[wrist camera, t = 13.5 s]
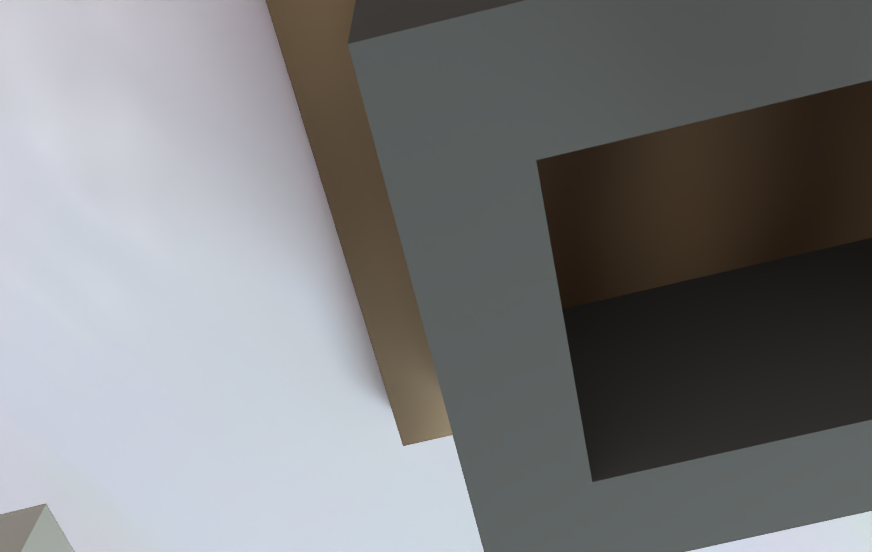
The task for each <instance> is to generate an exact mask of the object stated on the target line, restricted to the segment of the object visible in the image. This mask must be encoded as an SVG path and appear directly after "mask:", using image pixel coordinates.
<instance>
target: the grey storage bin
mask: <svg viewBox="0 0 872 552" xmlns="http://www.w3.org/2000/svg"><path fill="white" fill-rule="evenodd" d="M348 47H349V51H350V55H351V59H352V62H353V66H354V70H355V73H356V77H357V81H358V85H359V88H360V92H361V96H362V100H363V103H364V107H365V111H366V114H367V118H368V122H369V126H370V129H371V133H372V137H373V140H374V144H375V148H376V152H377V155H378V159H379V163H380V166H381V170H382V174H383V178H384V181H385V185H386V189H387V192H388V196H389V200H390V204H391V207H392V211H393V215H394V218H395V222H396V226H397V230H398V233H399V237H400V241H401V244H402V248H403V252H404V256H405V259H406V263H407V267H408V270H409V274H410V278H411V282H412V285H413V289H414V293H415V296H416V300H417V304H418V308H419V311H420V315H421V319H422V323H423V326H424V330H425V334H426V337H427V341H428V345H429V349H430V352H431V356H432V360H433V363H434V367H435V371H436V375H437V378H438V382H439V386H440V389H441V393H442V397H443V401H444V404H445V408H446V412H447V415H448V419H449V423H450V427H451V430H452V434H453V438H454V441H455V445H456V449H457V453H458V456H459V460H460V464H461V467H462V471H463V475H464V479H465V482H466V486H467V490H468V493H469V497H470V501H471V505H472V508H473V512H474V516H475V519H476V523H477V527H478V531H479V534H480V538H481V542H482V546H483V549H484V552H686V551H691V550H695V549H700V548H704V547H709V546H713V545H718V544H723V543H727V542H732V541H736V540H741V539H745V538H750V537H754V536H759V535H764V534H768V533H773V532H777V531H782V530H786V529H791V528H795V527H800V526H804V525H809V524H814V523H818V522H823V521H827V520H832V519H836V518H841V517H845V516H850V515H855V514H859V513H864V512H868V511H872V238H868V239H864V240H859V241H855V242H851V243H846V244H842V245H838V246H833V247H829V248H825V249H820V250H816V251H812V252H808V253H803V254H799V255H795V256H790V257H786V258H782V259H777V260H773V261H769V262H764V263H760V264H756V265H751V266H747V267H743V268H738V269H734V270H730V271H726V272H721V273H717V274H713V275H708V276H704V277H700V278H695V279H691V280H687V281H682V282H678V283H674V284H669V285H665V286H661V287H657V288H652V289H648V290H644V291H639V292H635V293H631V294H626V295H622V296H618V297H613V298H609V299H605V300H600V301H596V302H592V303H587V304H583V305H579V306H575V307H570V308H566V309H562V306H561V300H560V294H559V288H558V283H557V277H556V271H555V265H554V260H553V254H552V248H551V242H550V237H549V231H548V225H547V220H546V214H545V208H544V202H543V197H542V191H541V185H540V179H539V174H538V168H537V162H536V160H540V159H544V158H548V157H552V156H556V155H561V154H565V153H569V152H573V151H577V150H581V149H586V148H590V147H594V146H598V145H602V144H607V143H611V142H615V141H619V140H623V139H628V138H632V137H636V136H640V135H644V134H649V133H653V132H657V131H661V130H665V129H669V128H674V127H678V126H682V125H686V124H690V123H695V122H699V121H703V120H707V119H711V118H716V117H720V116H724V115H728V114H732V113H736V112H741V111H745V110H749V109H753V108H757V107H762V106H766V105H770V104H774V103H778V102H783V101H787V100H791V99H795V98H799V97H804V96H808V95H812V94H816V93H820V92H824V91H829V90H833V89H837V88H841V87H845V86H850V85H854V84H858V83H862V82H866V81H871V80H872V0H356V2H355V7H354V13H353V18H352V23H351V29H350V34H349V39H348Z"/></svg>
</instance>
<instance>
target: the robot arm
mask: <svg viewBox="0 0 872 552" xmlns="http://www.w3.org/2000/svg"><path fill="white" fill-rule="evenodd" d="M0 552H75V551H74V550H73V548H72V546H71V545H70V543H69V541H68V540H67V538H66V536H65V534H64V533H63V531H62V529H61V528H60V526H59V524H58V522H57V521H56V519H55V517H54V516H53V514H52V512H51V511H50V509H49V507H48V505H47V504H42V505H38V506H34V507H30V508H26V509H21V510H17V511H13V512H9V513H5V514H1V515H0Z"/></svg>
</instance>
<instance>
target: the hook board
mask: <svg viewBox="0 0 872 552" xmlns="http://www.w3.org/2000/svg"><path fill="white" fill-rule="evenodd" d="M355 2H356V0H266V3H267V6H268V9H269V12H270V16H271V19H272V22H273V25H274V29H275V32H276V35H277V38H278V42H279V45H280V48H281V51H282V55H283V58H284V61H285V64H286V68H287V71H288V74H289V77H290V81H291V84H292V87H293V90H294V94H295V97H296V100H297V103H298V107H299V110H300V113H301V116H302V120H303V123H304V126H305V129H306V133H307V136H308V139H309V142H310V145H311V149H312V152H313V155H314V158H315V162H316V165H317V168H318V171H319V175H320V178H321V181H322V184H323V188H324V191H325V194H326V197H327V201H328V204H329V207H330V210H331V214H332V217H333V220H334V223H335V227H336V230H337V233H338V236H339V240H340V243H341V246H342V249H343V253H344V256H345V259H346V262H347V266H348V269H349V272H350V275H351V278H352V282H353V285H354V288H355V291H356V295H357V298H358V301H359V304H360V308H361V311H362V314H363V317H364V321H365V324H366V327H367V330H368V334H369V337H370V340H371V343H372V347H373V350H374V353H375V356H376V360H377V363H378V366H379V369H380V373H381V376H382V379H383V382H384V386H385V389H386V392H387V395H388V399H389V402H390V405H391V408H392V411H393V415H394V418H395V421H396V424H397V428H398V431H399V434H400V437H401V441H402V444H403V446H406V445H410V444H414V443H419V442H423V441H427V440H432V439H436V438H441V437H445V436H449V435H453V434H452V430H451V427H450V423H449V419H448V415H447V412H446V408H445V404H444V401H443V397H442V393H441V389H440V386H439V382H438V378H437V375H436V371H435V367H434V363H433V360H432V356H431V352H430V349H429V345H428V341H427V337H426V334H425V330H424V326H423V323H422V319H421V315H420V311H419V308H418V304H417V300H416V296H415V293H414V289H413V285H412V282H411V278H410V274H409V270H408V267H407V263H406V259H405V256H404V252H403V248H402V244H401V241H400V237H399V233H398V230H397V226H396V222H395V218H394V215H393V211H392V207H391V204H390V200H389V196H388V192H387V189H386V185H385V181H384V178H383V174H382V170H381V166H380V163H379V159H378V155H377V152H376V148H375V144H374V140H373V137H372V133H371V129H370V126H369V122H368V118H367V114H366V111H365V107H364V103H363V100H362V96H361V92H360V88H359V85H358V81H357V77H356V73H355V70H354V66H353V62H352V59H351V55H350V51H349V47H348V39H349V34H350V29H351V23H352V18H353V13H354V7H355ZM536 162H537V168H538V174H539V179H540V185H541V191H542V197H543V202H544V208H545V214H546V220H547V225H548V231H549V237H550V242H551V248H552V254H553V260H554V265H555V271H556V277H557V283H558V288H559V294H560V300H561V306H562V309H566V308H570V307H575V306H579V305H583V304H587V303H592V302H596V301H600V300H605V299H609V298H613V297H618V296H622V295H626V294H631V293H635V292H639V291H644V290H648V289H652V288H657V287H661V286H665V285H669V284H674V283H678V282H682V281H687V280H691V279H695V278H700V277H704V276H708V275H713V274H717V273H721V272H726V271H730V270H734V269H738V268H743V267H747V266H751V265H756V264H760V263H764V262H769V261H773V260H777V259H782V258H786V257H790V256H795V255H799V254H803V253H808V252H812V251H816V250H820V249H825V248H829V247H833V246H838V245H842V244H846V243H851V242H855V241H859V240H864V239H868V238H872V80H871V81H866V82H862V83H858V84H854V85H850V86H845V87H841V88H837V89H833V90H829V91H824V92H820V93H816V94H812V95H808V96H804V97H799V98H795V99H791V100H787V101H783V102H778V103H774V104H770V105H766V106H762V107H757V108H753V109H749V110H745V111H741V112H736V113H732V114H728V115H724V116H720V117H716V118H711V119H707V120H703V121H699V122H695V123H690V124H686V125H682V126H678V127H674V128H669V129H665V130H661V131H657V132H653V133H649V134H644V135H640V136H636V137H632V138H628V139H623V140H619V141H615V142H611V143H607V144H602V145H598V146H594V147H590V148H586V149H581V150H577V151H573V152H569V153H565V154H561V155H556V156H552V157H548V158H544V159H540V160H536Z"/></svg>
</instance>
